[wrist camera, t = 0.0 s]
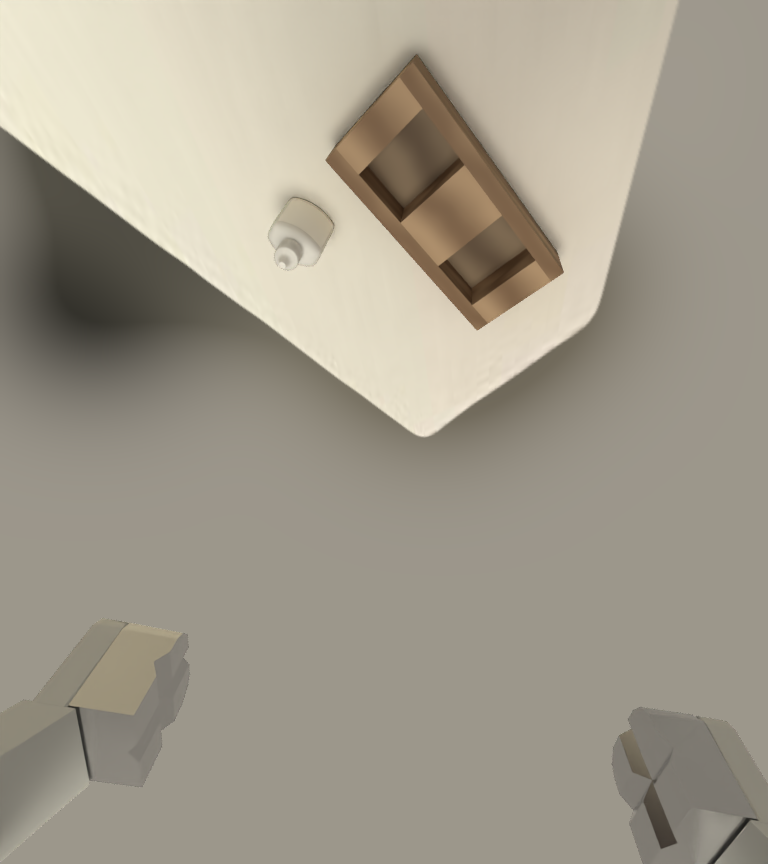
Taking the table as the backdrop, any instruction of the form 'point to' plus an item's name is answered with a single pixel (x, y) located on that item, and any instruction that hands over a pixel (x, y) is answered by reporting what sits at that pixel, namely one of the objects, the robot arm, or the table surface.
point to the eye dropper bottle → (299, 234)
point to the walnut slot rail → (444, 198)
